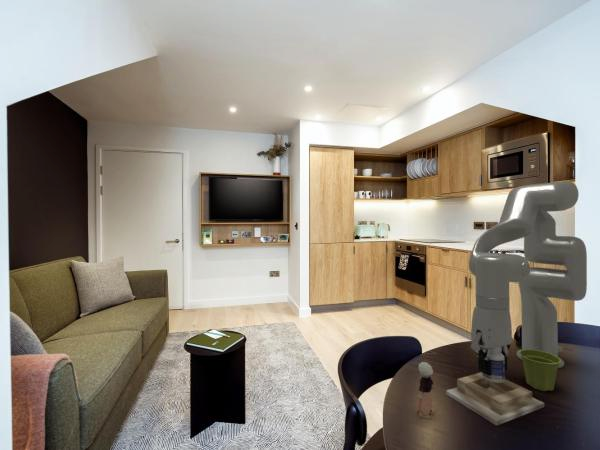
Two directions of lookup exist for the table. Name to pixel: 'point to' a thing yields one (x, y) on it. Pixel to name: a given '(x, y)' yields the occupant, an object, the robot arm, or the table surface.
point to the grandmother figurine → (425, 391)
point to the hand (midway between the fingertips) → (492, 370)
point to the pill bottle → (496, 366)
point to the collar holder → (494, 398)
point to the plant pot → (540, 368)
